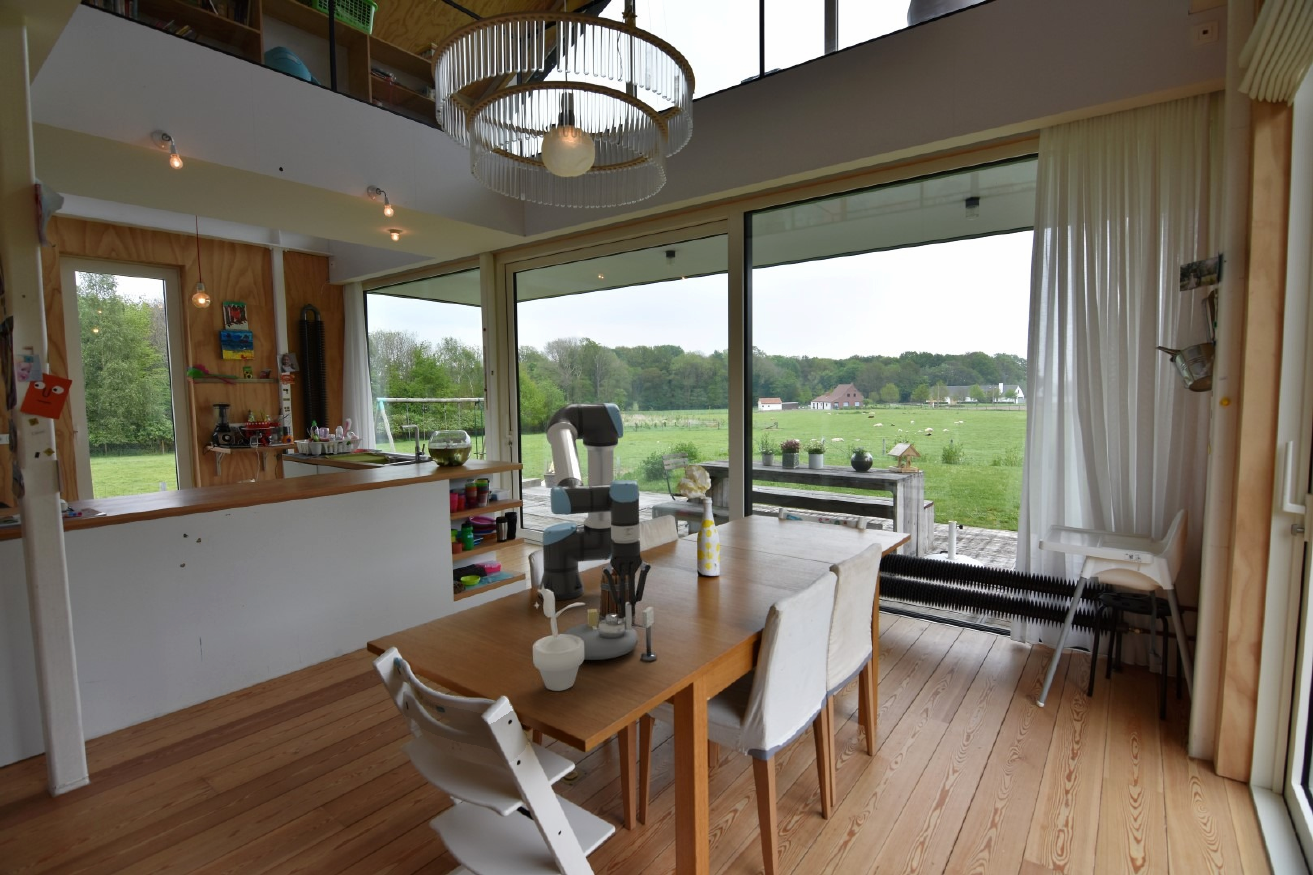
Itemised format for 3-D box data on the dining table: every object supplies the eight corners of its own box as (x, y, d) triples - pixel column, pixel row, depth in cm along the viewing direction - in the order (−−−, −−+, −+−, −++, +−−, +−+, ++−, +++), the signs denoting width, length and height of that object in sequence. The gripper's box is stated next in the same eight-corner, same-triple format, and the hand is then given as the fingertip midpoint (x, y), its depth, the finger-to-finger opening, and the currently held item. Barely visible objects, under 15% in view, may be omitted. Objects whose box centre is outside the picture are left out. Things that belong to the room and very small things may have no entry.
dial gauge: (659, 656, 155) (658, 607, 154) (652, 662, 151) (651, 612, 150) (635, 652, 157) (634, 604, 157) (628, 658, 154) (627, 609, 153)
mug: (630, 630, 173) (629, 578, 172) (594, 628, 175) (593, 576, 174) (642, 611, 188) (641, 563, 187) (609, 609, 190) (608, 562, 189)
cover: (596, 630, 163) (596, 612, 162) (622, 627, 164) (622, 609, 164) (601, 640, 156) (601, 621, 155) (628, 637, 158) (627, 618, 157)
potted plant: (523, 693, 137) (520, 583, 135) (550, 671, 147) (547, 569, 146) (573, 701, 132) (570, 588, 131) (597, 678, 143) (595, 573, 141)
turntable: (555, 634, 166) (554, 612, 166) (627, 625, 172) (626, 604, 171) (565, 664, 147) (564, 640, 146) (646, 653, 152) (645, 629, 152)
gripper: (604, 545, 154) (606, 636, 156) (653, 540, 158) (655, 629, 159) (598, 539, 161) (600, 626, 163) (645, 534, 165) (647, 620, 167)
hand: (628, 628), depth 161 cm, fingers closed
